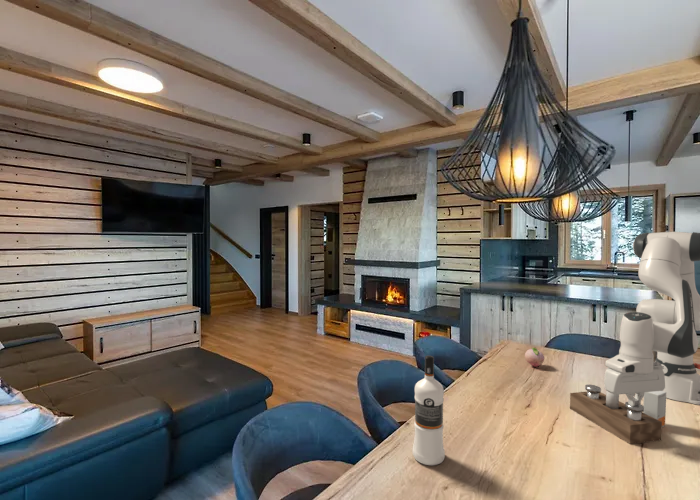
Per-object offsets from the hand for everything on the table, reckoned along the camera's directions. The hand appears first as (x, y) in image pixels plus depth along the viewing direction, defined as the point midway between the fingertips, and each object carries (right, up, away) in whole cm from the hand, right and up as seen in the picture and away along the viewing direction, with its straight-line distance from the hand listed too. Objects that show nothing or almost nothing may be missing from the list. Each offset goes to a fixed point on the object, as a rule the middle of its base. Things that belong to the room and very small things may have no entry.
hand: (634, 404), depth 118 cm
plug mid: (-1, -5, +8) cm, 9 cm away
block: (-1, -10, +8) cm, 13 cm away
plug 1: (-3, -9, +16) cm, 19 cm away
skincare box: (+12, -10, +7) cm, 17 cm away
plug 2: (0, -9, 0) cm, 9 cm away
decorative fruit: (-1, -8, +63) cm, 64 cm away
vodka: (-70, -11, -12) cm, 72 cm away
